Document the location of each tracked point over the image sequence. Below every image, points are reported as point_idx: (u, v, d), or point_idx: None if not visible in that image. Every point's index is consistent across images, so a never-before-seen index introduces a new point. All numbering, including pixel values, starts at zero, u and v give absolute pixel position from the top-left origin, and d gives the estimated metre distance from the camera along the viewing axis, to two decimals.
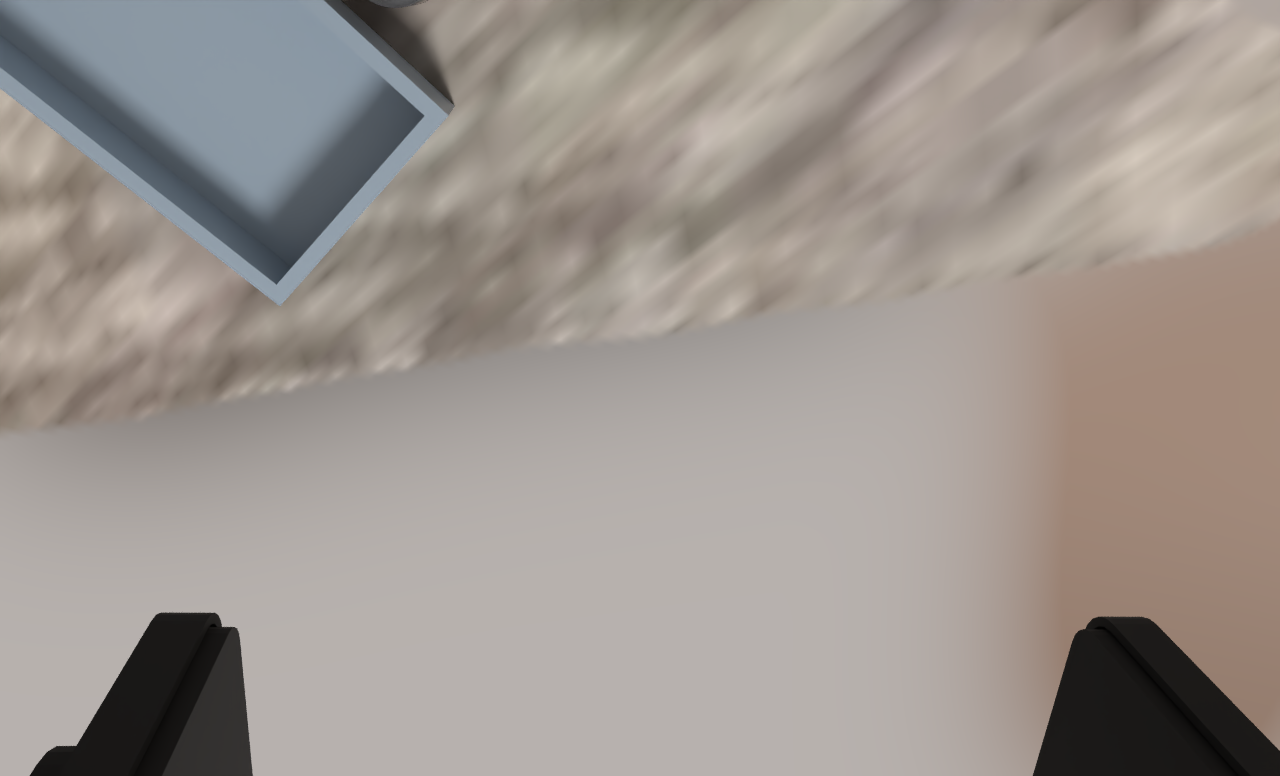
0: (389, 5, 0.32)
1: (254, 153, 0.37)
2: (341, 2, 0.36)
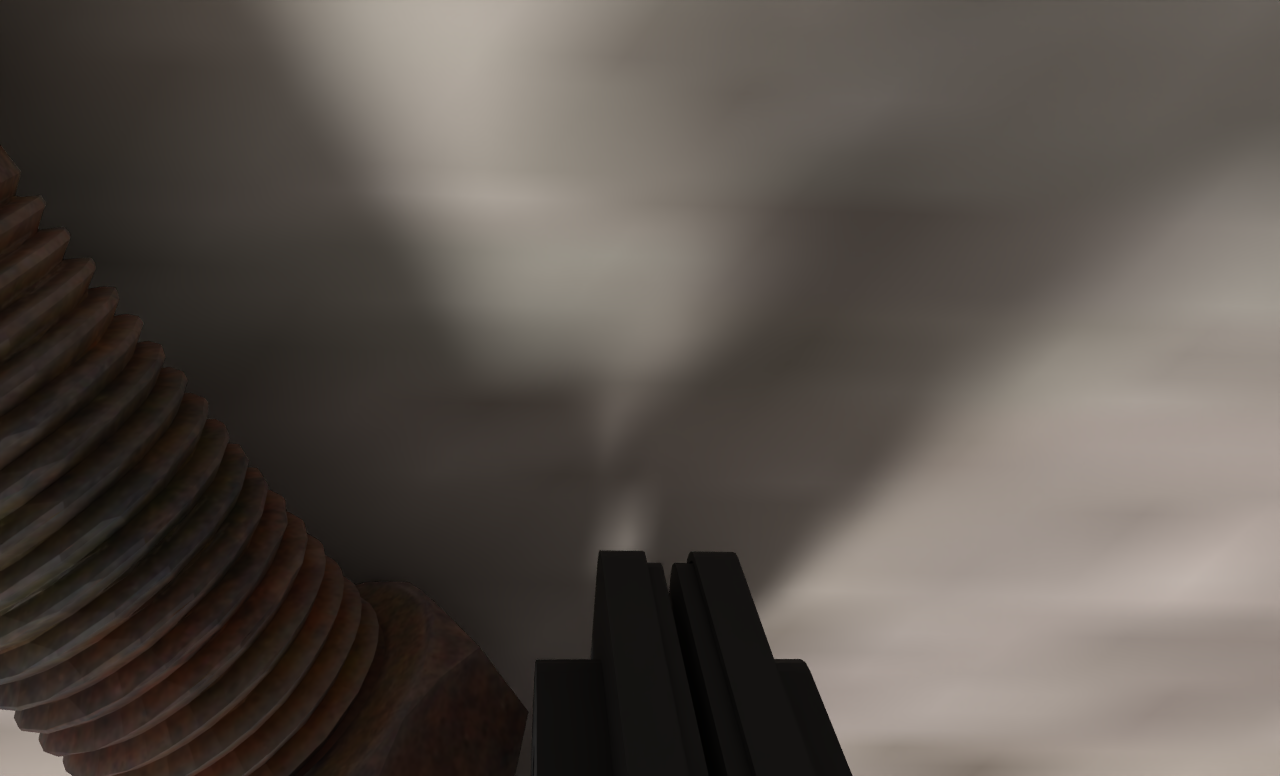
0: None
1: None
2: None
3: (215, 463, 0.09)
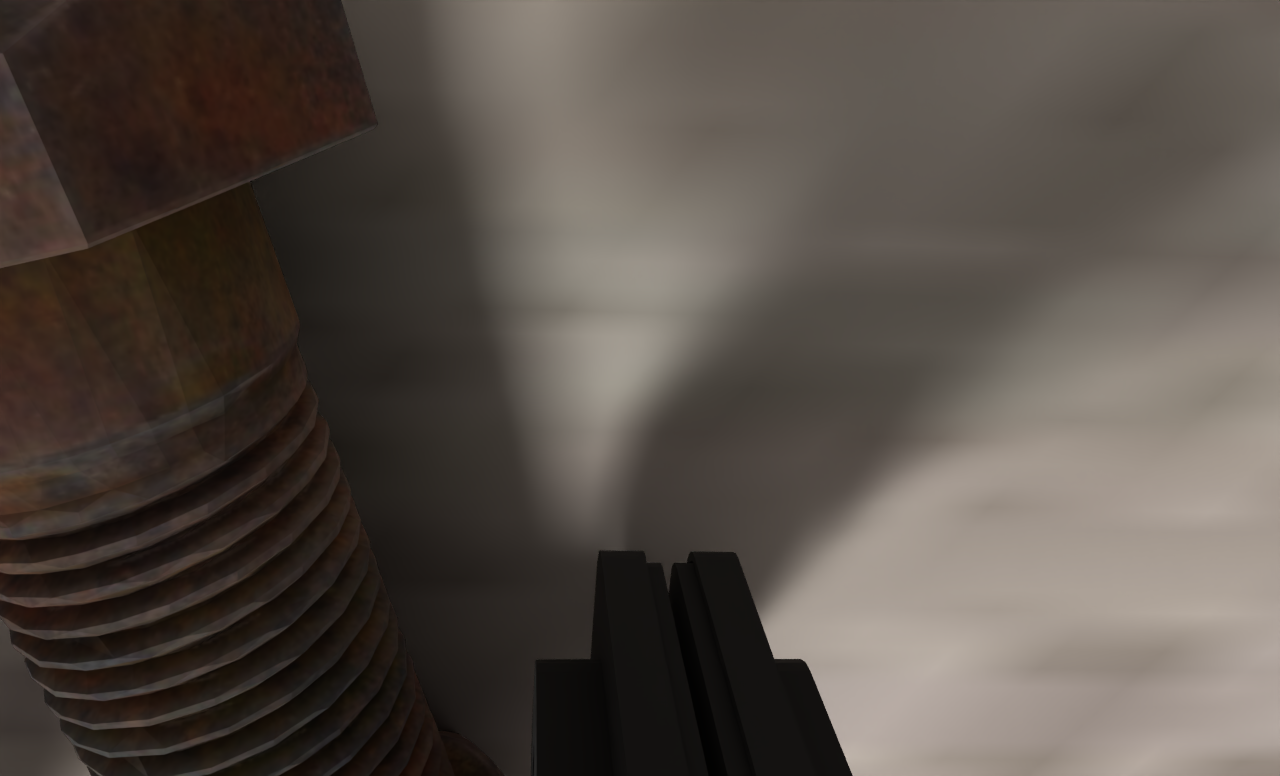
0: None
1: None
2: None
3: (395, 651, 0.10)
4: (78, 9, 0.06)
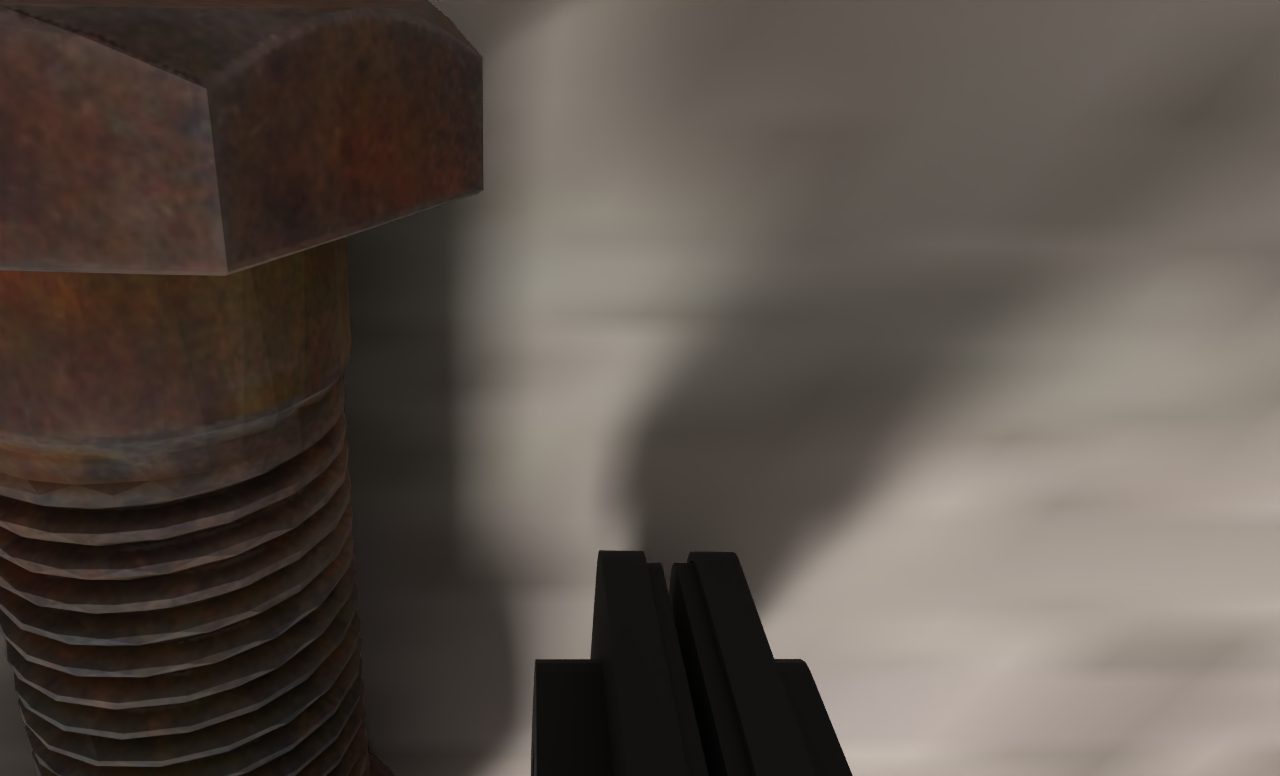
0: None
1: None
2: None
3: (356, 676, 0.10)
4: (277, 56, 0.06)
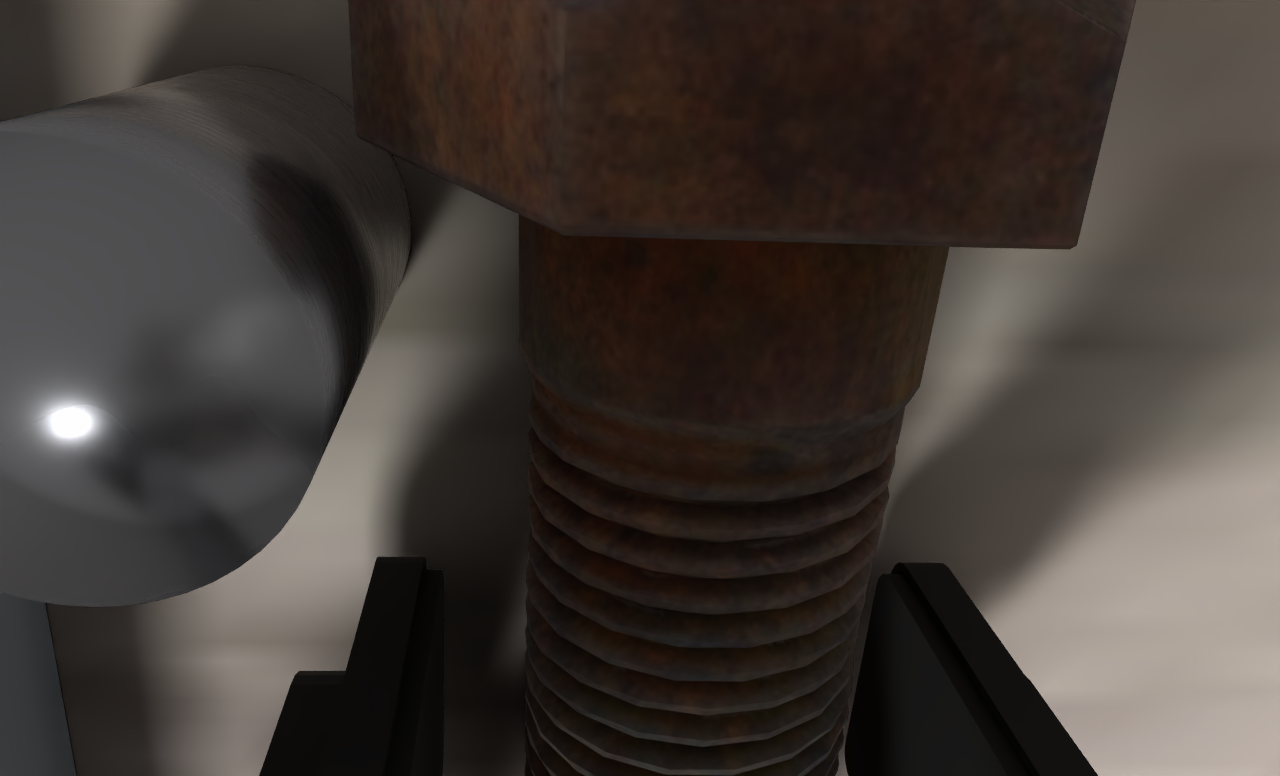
0: None
1: None
2: None
3: None
4: None
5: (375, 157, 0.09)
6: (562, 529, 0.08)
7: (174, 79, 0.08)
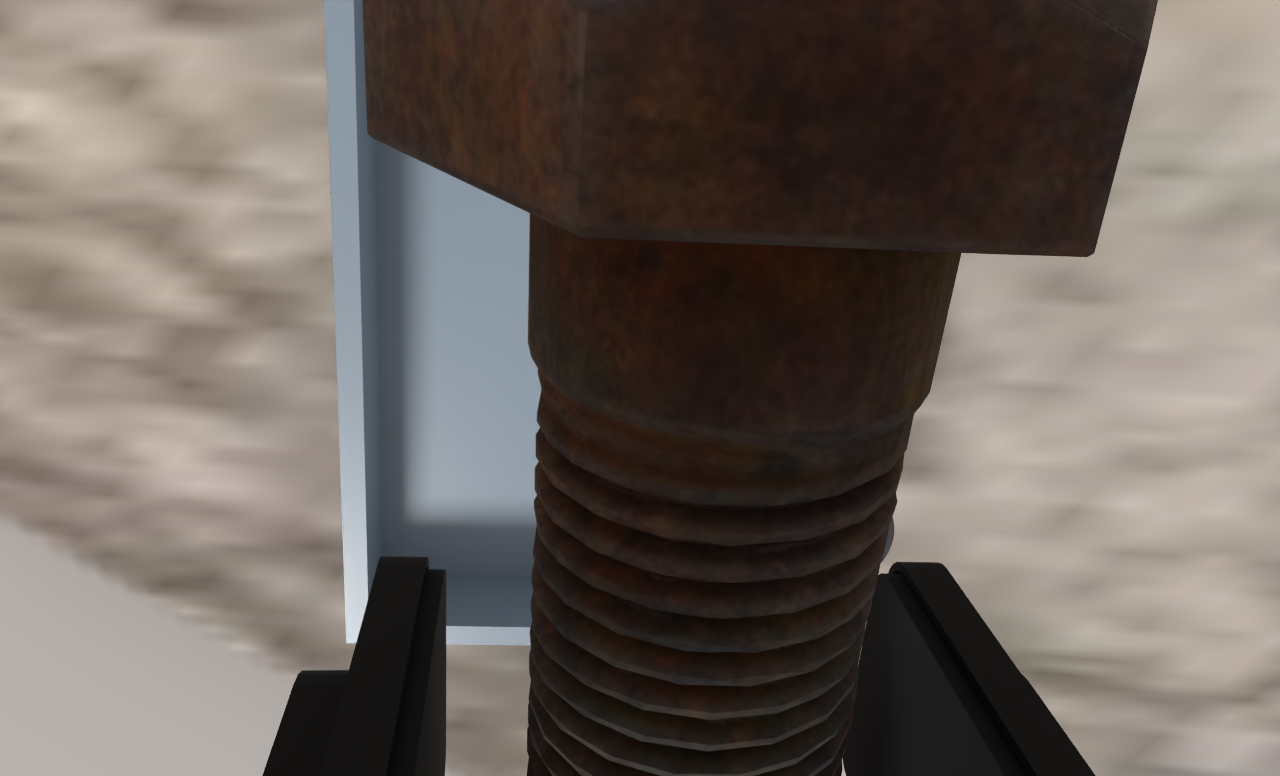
0: None
1: (477, 462, 0.27)
2: None
3: None
4: (1153, 18, 0.05)
5: None
6: (569, 531, 0.08)
7: None
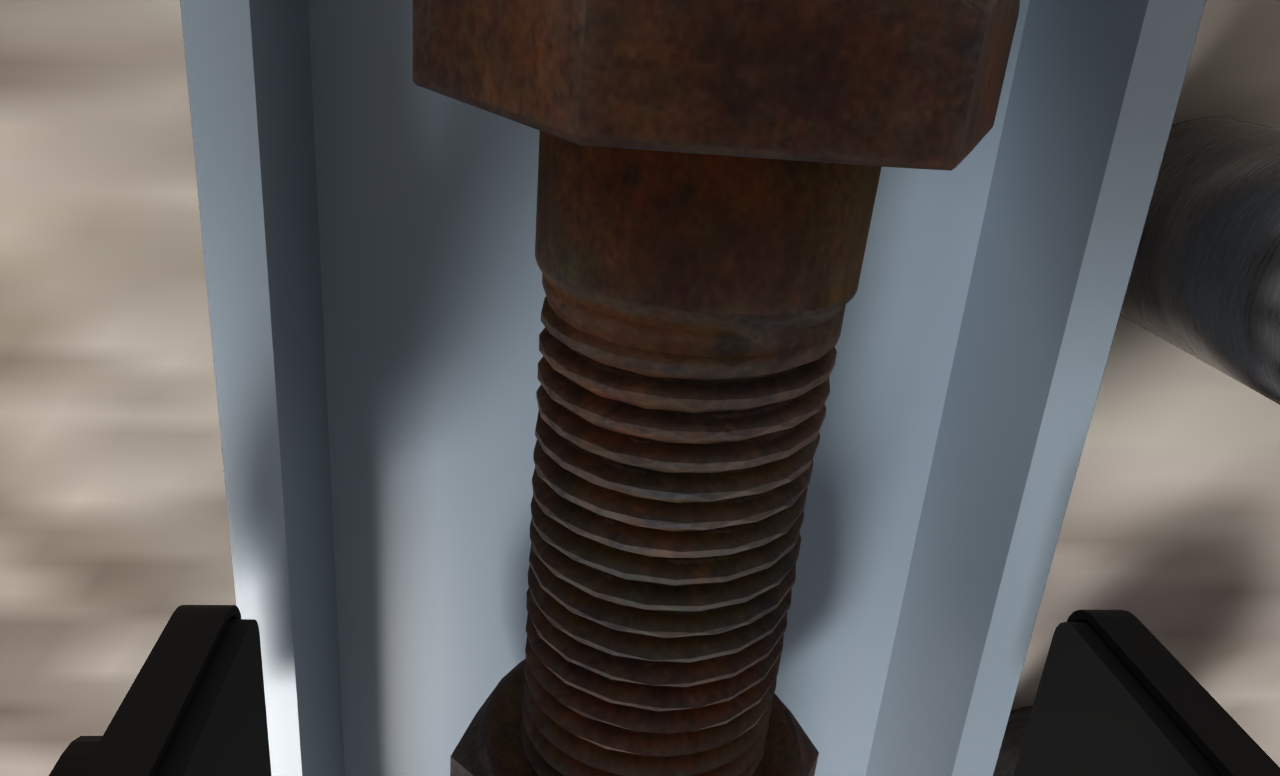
0: None
1: None
2: None
3: None
4: None
5: None
6: (566, 405, 0.10)
7: (1273, 132, 0.12)
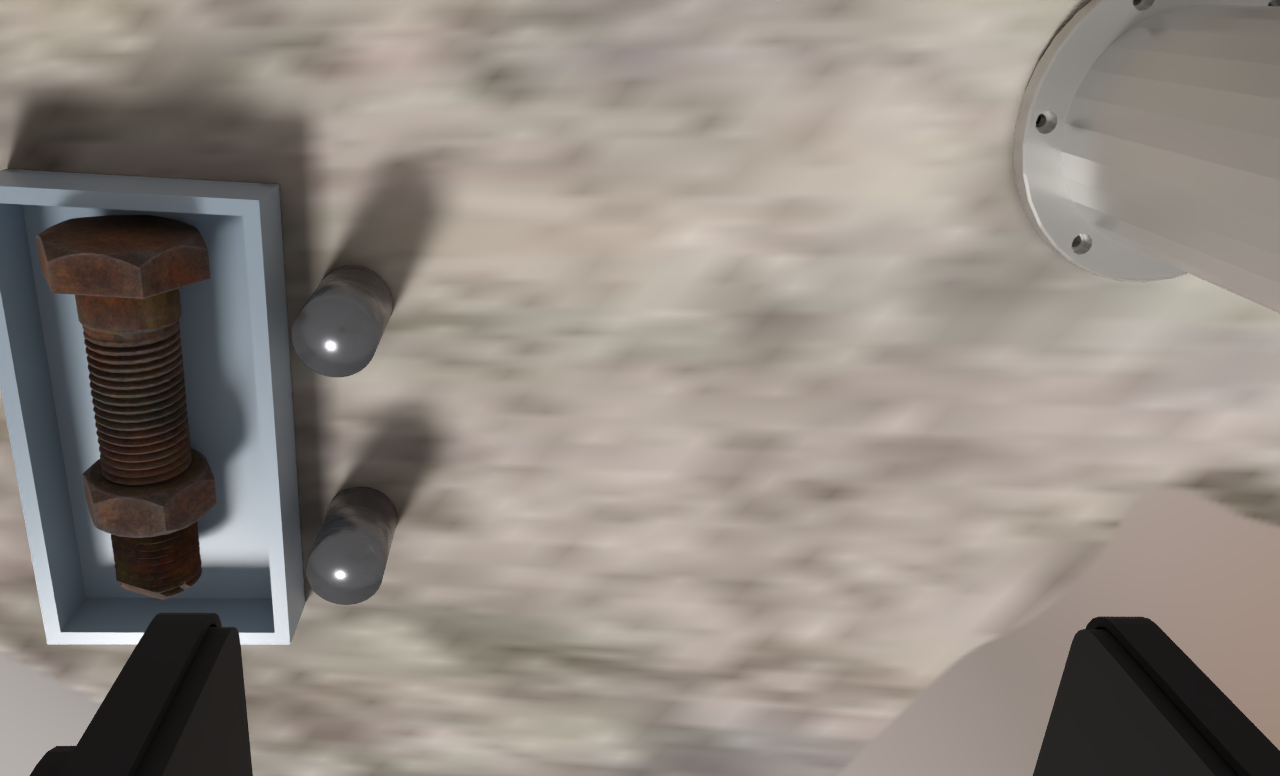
0: (316, 591, 0.39)
1: None
2: (296, 505, 0.42)
3: (182, 405, 0.37)
4: (153, 260, 0.33)
5: (384, 288, 0.39)
6: (87, 354, 0.35)
7: (341, 275, 0.38)
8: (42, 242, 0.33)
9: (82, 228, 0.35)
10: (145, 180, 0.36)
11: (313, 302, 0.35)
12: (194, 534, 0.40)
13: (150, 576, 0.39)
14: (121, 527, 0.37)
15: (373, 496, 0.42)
